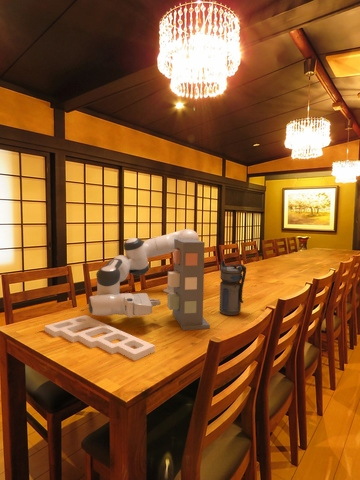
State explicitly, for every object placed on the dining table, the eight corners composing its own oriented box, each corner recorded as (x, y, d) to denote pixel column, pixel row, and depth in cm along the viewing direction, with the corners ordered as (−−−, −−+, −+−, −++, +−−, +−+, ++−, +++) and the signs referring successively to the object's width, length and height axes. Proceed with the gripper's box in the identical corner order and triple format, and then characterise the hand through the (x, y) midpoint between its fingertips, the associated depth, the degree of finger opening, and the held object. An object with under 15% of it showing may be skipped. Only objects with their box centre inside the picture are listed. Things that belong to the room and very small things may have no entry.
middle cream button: (170, 287, 127) (170, 274, 127) (167, 284, 132) (167, 271, 132) (183, 286, 128) (183, 273, 128) (180, 283, 134) (181, 271, 133)
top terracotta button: (175, 263, 127) (176, 250, 126) (173, 261, 132) (173, 249, 132) (189, 263, 128) (189, 250, 128) (186, 261, 133) (186, 249, 133)
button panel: (182, 330, 121) (184, 242, 118) (172, 313, 143) (173, 238, 140) (209, 328, 124) (211, 242, 121) (195, 311, 145) (197, 238, 142)
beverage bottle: (239, 318, 136) (241, 265, 134) (214, 312, 144) (215, 262, 142) (248, 313, 144) (250, 262, 142) (224, 308, 152) (225, 259, 150)
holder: (155, 353, 102) (155, 345, 102) (111, 373, 88) (111, 364, 88) (85, 321, 132) (85, 315, 131) (44, 332, 118) (44, 325, 118)
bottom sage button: (169, 309, 128) (169, 297, 127) (167, 306, 133) (167, 293, 133) (183, 309, 129) (183, 296, 129) (180, 305, 135) (180, 293, 134)
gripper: (126, 303, 137) (156, 302, 140) (129, 318, 117) (163, 316, 120) (126, 290, 136) (156, 289, 139) (129, 303, 116) (164, 301, 119)
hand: (160, 302), depth 129 cm, fingers closed
